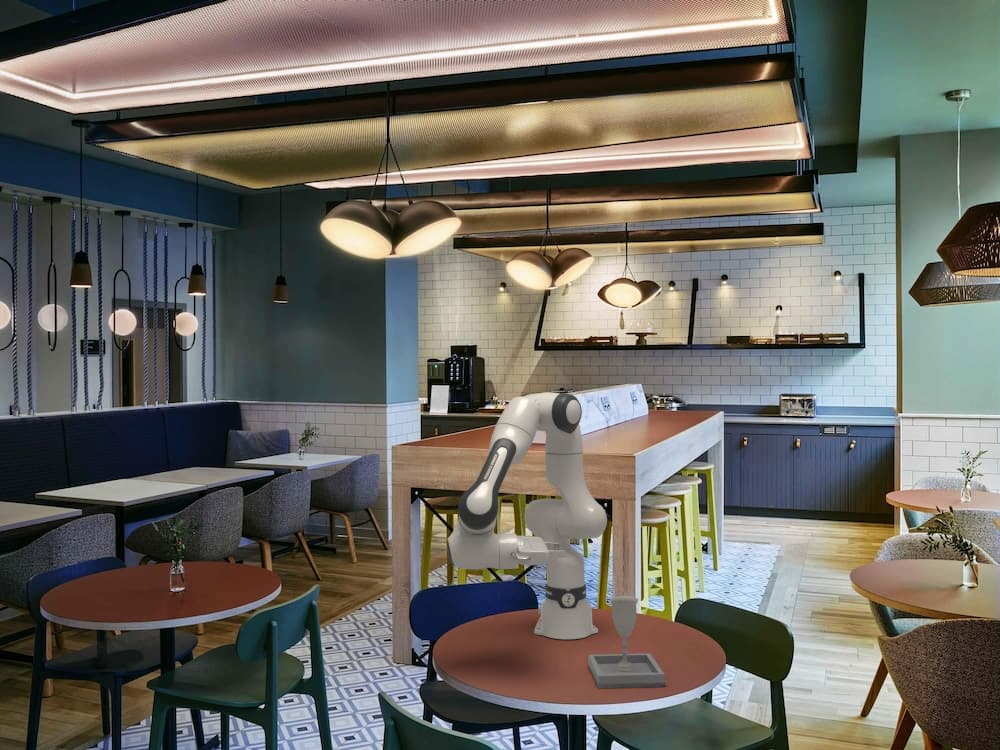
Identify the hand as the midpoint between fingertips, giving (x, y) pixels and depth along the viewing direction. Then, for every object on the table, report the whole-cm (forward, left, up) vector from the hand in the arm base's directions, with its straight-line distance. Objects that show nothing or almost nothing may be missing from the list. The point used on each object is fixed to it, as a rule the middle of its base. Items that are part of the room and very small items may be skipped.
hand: (563, 550), depth 217 cm
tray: (+8, +14, -30) cm, 34 cm away
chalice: (+8, +14, -29) cm, 33 cm away
